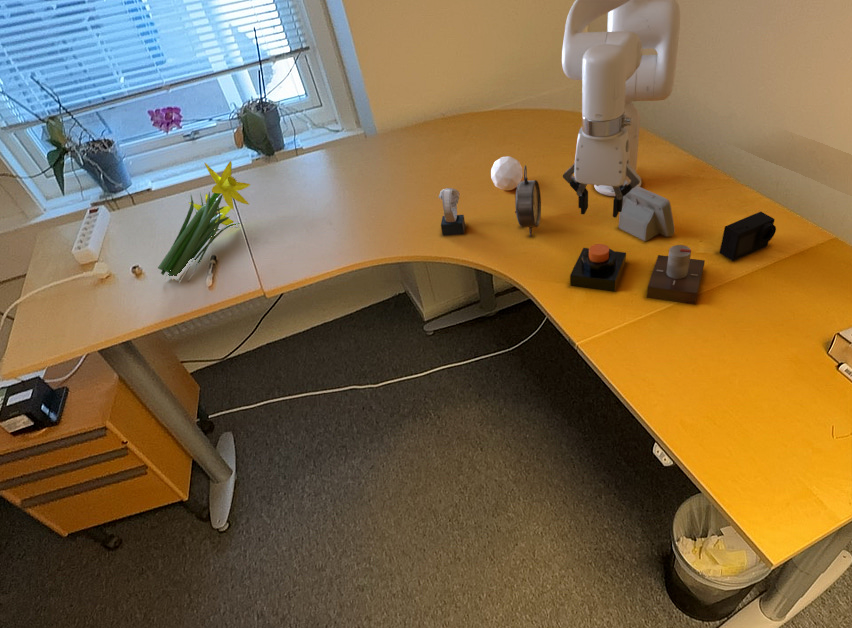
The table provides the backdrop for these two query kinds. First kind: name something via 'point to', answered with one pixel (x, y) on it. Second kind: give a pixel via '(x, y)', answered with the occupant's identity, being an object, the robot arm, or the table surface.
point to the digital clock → (646, 214)
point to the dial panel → (675, 282)
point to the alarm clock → (528, 203)
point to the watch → (451, 213)
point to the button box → (598, 271)
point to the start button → (598, 253)
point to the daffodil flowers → (204, 222)
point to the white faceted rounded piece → (506, 173)
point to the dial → (678, 261)
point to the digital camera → (747, 236)
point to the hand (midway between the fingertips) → (600, 211)
